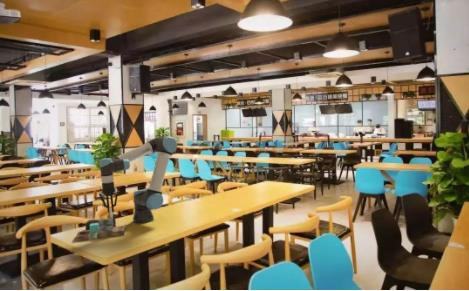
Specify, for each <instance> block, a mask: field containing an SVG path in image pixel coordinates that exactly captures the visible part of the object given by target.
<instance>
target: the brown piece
mask: <svg viewBox="0 0 469 291" xmlns="http://www.w3.org/2000/svg"><path fill="white" fill-rule="evenodd" d="M104 219H105V220H102V219H98V220H99V228H97V230H98V233H90V230H87V231H86V230H81V231H78V232H77V234H76V236H75V242H79V241H80V242H81V241H82V242H83V241H89V240H96V239H105V238H110V237H120V236H125V230H126V229H125V225H121V226H120V225H119V226H115V227H114V226H113V219H110V218H104Z"/></svg>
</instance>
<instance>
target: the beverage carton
mask: <svg viewBox="0 0 469 291" xmlns="http://www.w3.org/2000/svg"><path fill="white" fill-rule="evenodd" d="M105 219H106V218H103V219H102V218H101V220H105ZM109 219H113V226H114V227H117V222H116V217H114V218H110V217H109ZM99 220H100V219H93V220H92V219H91V220H87V221H86V222H85V223H84V225H85V231H87V230H90V224H94V223H99Z"/></svg>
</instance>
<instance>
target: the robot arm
mask: <svg viewBox="0 0 469 291" xmlns="http://www.w3.org/2000/svg"><path fill="white" fill-rule="evenodd" d="M177 148H178V141H177V140H176V139H175V138H174V137H172V136H167V135H166V136H157V137H154V138H152V139H150V140H148V141H146V142H145V143H144V144H142V145H140V146H138V147H136V148H133V149H131V150H129V151H126V152H124V153H121V154H120V155H117V156H115V157H111V158H110V157H109V158H108V157H107V158H101V159H99V170H100V180H101V181H100V182H101V187H102V188H101V192H100V193H98V196H99V198H100V199H101V201H102V205H103V207H104V208H106V209H107V213H109V219H110V218H113V217H114V215H113V213H114V212H115V207H116V206H117V201H118V195H119V193H120V191H119V190H116V188H115V181H114V179H115V178H114V173H115V172H120V171H126V170H129V169H130V167H131V164H130V163H131V162H133V161H136V160H137V159H140V158H142V157H144V156H147V155H149V154H150V155H152V154H157V157H156V160H155V164H154V167H153V171H152V176H151V178H150V179H151V180H150V183H149V186H148V187H147V188H146V189H145V188H144V189H139V190H135V191H133V196H132V197H133V205H134V208H133V209H134V213H133V217H132V222H133V223H136V224H143V223H149V222H151V221H153V220H154V218H155V217H154V214H153V212H152V210H153V211H155V210H159V209H160V208H161V207H162V206H163V204H164V197H163V190H162V187H163V184H164V180H165V175H166V172H167V168H168V164H169V161H170V158H171V157H173V154H174V153H175V152H176V151H177ZM114 194H115V197H113V195H114ZM104 196H105V197H104ZM109 197H110V201H109ZM113 198H114V199H113ZM105 200H106V201H105ZM110 205H111V206H110Z"/></svg>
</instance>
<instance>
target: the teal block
mask: <svg viewBox="0 0 469 291" xmlns="http://www.w3.org/2000/svg"><path fill="white" fill-rule="evenodd" d="M97 228H99V223H94V224H90V233H98V230H97Z"/></svg>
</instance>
